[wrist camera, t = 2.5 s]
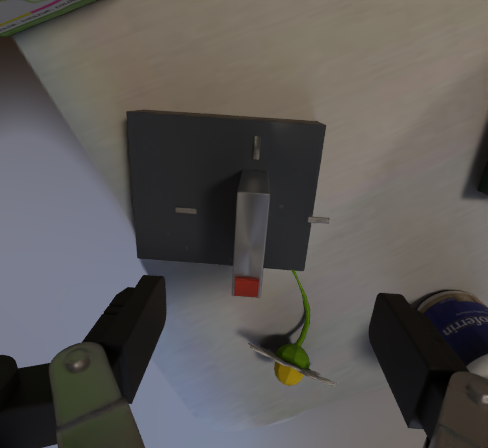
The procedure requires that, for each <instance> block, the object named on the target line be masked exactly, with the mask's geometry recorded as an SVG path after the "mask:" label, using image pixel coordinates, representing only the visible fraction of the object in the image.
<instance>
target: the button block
mask: <svg viewBox="0 0 488 448" xmlns="http://www.w3.org/2000/svg"><path fill="white" fill-rule="evenodd" d="M478 191H480V192H482V193H484V194H487V195H488V162H487V164H486V167H485V170H484V173H483V176H482V179H481V182H480V184H479V187H478Z"/></svg>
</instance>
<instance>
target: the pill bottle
mask: <svg viewBox="0 0 488 448" xmlns="http://www.w3.org/2000/svg"><path fill="white" fill-rule="evenodd" d="M417 310H418V311H420V312H421V313H422V314H424V315H425V316H426V317H428V318H429V319H430V320H431V321H432V323H433V324H434V325H435V327H436V328H437V329H438V332H440V333H441V335H442V336H443V337H444V339H445V341H447V342H448V344H449V345H450V346H451V348H452V349H453V350H454V352H455V353H456V354H457V356H458V357H459V358H460V360H461V361H462V362H463V363H464V365H465V366H466V367H467V369H468V370H469V371H470V373H474V374H477V375H480V376H482V377H484V378H486V379H488V307H486V306H485V305H484V304H483V303H482V302H481V301H480V300H479V299H477V298H476V297H475V296H473V295H471V294H469V293H466V292H462V291H445V292H441V293H438V294H435V295H433V296H431V297H430V298H428V299H426V300H425V301H424V302H423V303H422V304H421V305H420V306H419V307H418V309H417Z"/></svg>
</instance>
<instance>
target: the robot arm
mask: <svg viewBox="0 0 488 448" xmlns="http://www.w3.org/2000/svg"><path fill="white" fill-rule="evenodd" d="M165 320H166V288H165V278H164V277H163V276H151V275H143V276H142V278H141V279H140V281H139V282H138V284H137V285H136V287H135V288H132V287H127V288H126V289H124V290H123V291H122V292H120V293H118V294H117V295H116V296H115V297H114V299H113V300H112V302H111V303H110V304H109V306H108V307H107V308H106V310H105V311H104V314H102V315H101V317H100V318H99V319H98V321H97V322H96V324H95V325H94V326H93V328H92V329H91V331H90V332H89V333H88V335H87V336H86V337H85V339H84V340H83V341H82V343H78V344H74V345H72V346H69V347H67V348H65V349H64V350H62V351H61V352H59V353H58V354H57V355H56V356H55V357H54V358H53V360H52V361H51V363H48V364H42V365H36V366H30V367H24V368H18V367H17V364H16V361H15V360H14V359H13V358H12V357H10V356H6V355H0V448H43V447H46V446H51V445H55V444H58V448H145V446H144V444H143V441H142V438H141V435H140V433H139V430H138V428H137V425H136V422H135V419H134V417H133V414H132V412H131V409H130V406H129V404H132V402H133V399H134V397H135V394H136V392H137V390H138V387H139V385H140V382H141V380H142V378H143V375H144V373H145V371H146V368H147V366H148V363H149V361H150V359H151V356H152V354H153V352H154V349H155V347H156V344H157V342H158V340H159V337H160V335H161V333H162V330H163V328H164V325H165ZM369 340H370V343H371V346H372V348H373V350H374V353H375V355H376V357H377V359H378V361H379V364H380V366H381V368H382V370H383V373H384V375H385V377H386V379H387V382H388V384H389V386H390V388H391V390H392V393H393V395H394V397H395V399H396V402H397V404H398V406H399V408H400V411H401V413H402V415H403V417H404V420H405V422H406V424H407V426H408V428H414V429H424V431H425V432H426V435H427V437H426V440H425V442H424V445H423V448H488V379H486V378H484V377H482V376H480V375H477V374H474V373H470V371H469V370H468V369H467V367H466V366H465V365H464V363H463V362H462V361H461V360H460V358H459V357H458V356H457V354H456V353H455V352H454V350H453V349H452V348H451V346H450V345H449V344H448V342H447V341H445V339H444V337H443V336H442V335H441V333H440V332H438V329H437V328H436V327H435V325H434V324H433V323H432V321H431V320H430V319H429V318H428V317H426V316H425V315H424V314H422V313H421V312H420V311H418V310H417V309H412V308H411V306H410V305H409V303H408V302H407V301H406V299H405V298H404V296H403V295H401V294H389V293H379V294H378V295H377V298H376V301H375V305H374V309H373V313H372V317H371V321H370V325H369Z"/></svg>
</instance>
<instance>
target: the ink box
mask: <svg viewBox="0 0 488 448" xmlns="http://www.w3.org/2000/svg"><path fill="white" fill-rule="evenodd" d="M94 1H97V0H0V36H4V37H7V36H10V35H12V34H15V33H17V32H20V31H22V30H24V29H27V28H30V27H32V26H34V25H37V24H39V23H42V22H45V21H47V20H50V19H52V18H55V17H57V16H60V15H62V14H65V13H68V12H70V11H72V10H74V9H77V8H79V7H82V6H85V5H87V4H90V3H92V2H94Z"/></svg>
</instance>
